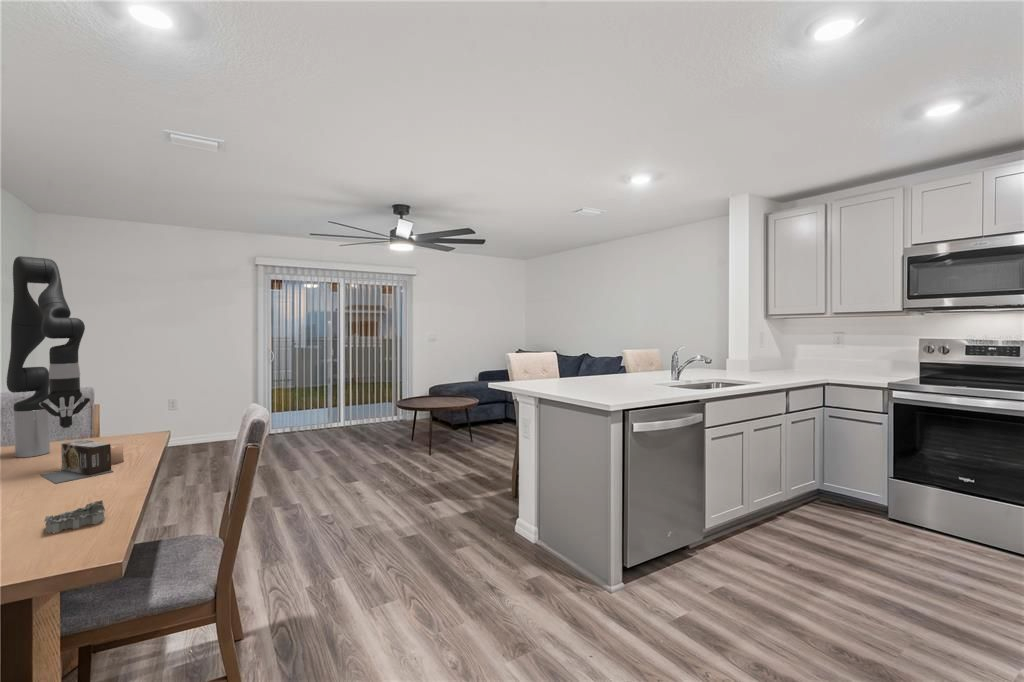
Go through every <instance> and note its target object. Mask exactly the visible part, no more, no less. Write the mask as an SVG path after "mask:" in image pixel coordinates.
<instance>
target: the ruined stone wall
mask: <svg viewBox="0 0 1024 682" xmlns="http://www.w3.org/2000/svg"><path fill="white" fill-rule="evenodd" d="M105 512H106V509H105V506H104V502H103V500H99V501H97V500H96V501H94V502H90V503H87V504H86V505H85V507H77V509H74V510H71V511H65V512H63V513H60V514H57V515H47V516H45V519H44V522H45V534H48V533H47V532H58V531H60V530H62V531H64V530H63V529H65V530H68V529H67V528H73V529H72V530H75V529H74V528H76V529H79V528H80V527H83V525H84V526H88V525H93V524H95V525H98V524H100V523H101V521H102V522H104V521H105ZM97 523H98V524H97ZM87 524H88V525H87ZM60 532H61V531H60ZM58 533H59V532H58Z"/></svg>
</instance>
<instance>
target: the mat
mask: <svg viewBox="0 0 1024 682" xmlns="http://www.w3.org/2000/svg"><path fill="white" fill-rule="evenodd" d="M110 473H114V470H112V469H111V470H109V471H105V472H100V473H96V474H92V475H87V474H81V473H76V472H71V471H66V470H62V469H61V470H57V471H51V472H45V473H41V474H40V476H41V477H42V478H44V479H46V480H48V481H50V482H51V483H53V484H55V485H58V484H62V483H66V482H71V481H72V482H73V481H77V480H81V479H86V478H91V477H94V476H95V477H96V476H101V475H105V474H110Z"/></svg>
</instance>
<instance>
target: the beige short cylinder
mask: <svg viewBox="0 0 1024 682" xmlns="http://www.w3.org/2000/svg"><path fill="white" fill-rule="evenodd" d="M110 447H111V466H112V465H113V464H114V465H117V464H118V465H119V464H121V463H123V462H124V461H125V460H124V457H125V456H124V443H112V444H111V443H110Z"/></svg>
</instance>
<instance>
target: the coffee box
mask: <svg viewBox="0 0 1024 682" xmlns="http://www.w3.org/2000/svg"><path fill="white" fill-rule="evenodd" d="M110 445H111V443H107V442H100V441H94V440H88V439H79V440H73V441H67V442H62V443H61V444H60V446H61V448H60V449H61V451H60V452H61V470H66V471H71V472H76V473H81V474H87V475H92V474H96V473H100V472H105V471H109V470H112V465H111V447H110Z"/></svg>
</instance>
